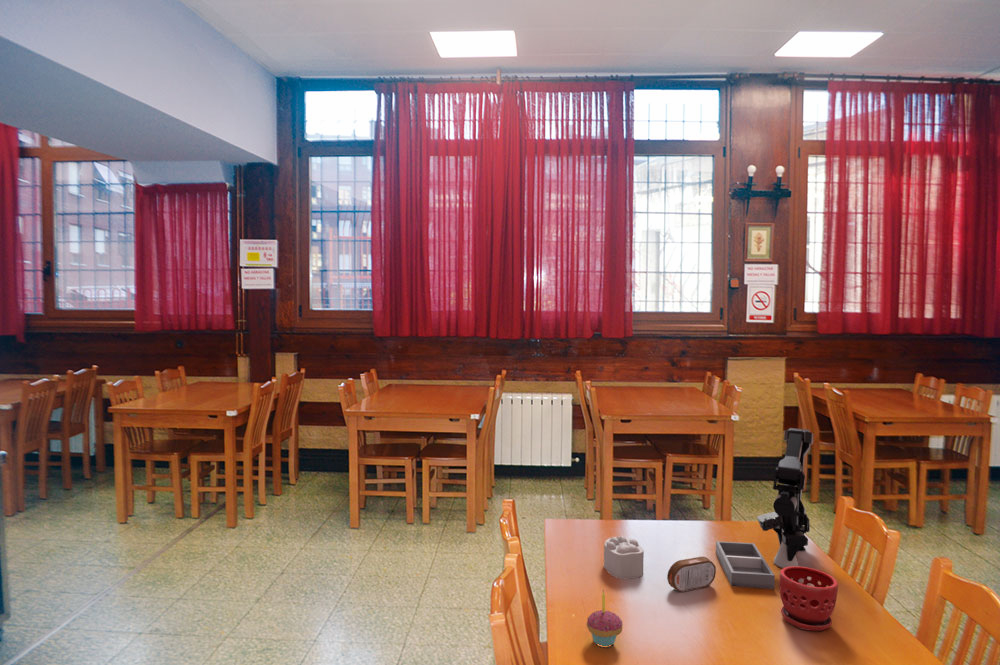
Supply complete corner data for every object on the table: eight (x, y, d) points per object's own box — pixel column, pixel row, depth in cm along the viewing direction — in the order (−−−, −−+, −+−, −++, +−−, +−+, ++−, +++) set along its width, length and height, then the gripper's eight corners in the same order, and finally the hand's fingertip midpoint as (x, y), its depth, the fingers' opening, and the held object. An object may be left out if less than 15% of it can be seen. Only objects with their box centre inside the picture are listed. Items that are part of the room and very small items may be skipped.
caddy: (753, 555, 198) (754, 543, 197) (774, 589, 176) (774, 575, 175) (715, 553, 199) (715, 541, 199) (731, 586, 177) (731, 572, 177)
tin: (710, 581, 180) (710, 553, 180) (717, 586, 177) (718, 557, 177) (666, 590, 175) (666, 561, 174) (673, 595, 172) (673, 566, 171)
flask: (794, 560, 195) (795, 528, 194) (803, 570, 187) (804, 537, 187) (770, 559, 195) (771, 527, 195) (777, 569, 188) (779, 536, 188)
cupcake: (583, 633, 153) (583, 585, 152) (617, 631, 154) (617, 584, 153) (591, 653, 144) (591, 603, 144) (627, 651, 145) (627, 601, 144)
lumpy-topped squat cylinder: (615, 580, 181) (615, 551, 180) (597, 561, 194) (597, 534, 193) (647, 576, 184) (648, 547, 183) (627, 557, 196) (628, 530, 196)
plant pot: (834, 641, 150) (835, 593, 149) (774, 625, 157) (776, 579, 156) (838, 617, 161) (839, 572, 160) (782, 603, 168) (783, 560, 167)
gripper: (752, 495, 201) (751, 542, 202) (768, 516, 182) (767, 568, 183) (789, 496, 199) (787, 544, 200) (809, 518, 181) (807, 570, 182)
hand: (786, 556), depth 191 cm, fingers open, 6 cm apart
